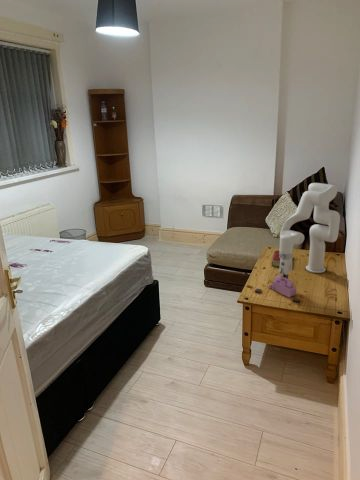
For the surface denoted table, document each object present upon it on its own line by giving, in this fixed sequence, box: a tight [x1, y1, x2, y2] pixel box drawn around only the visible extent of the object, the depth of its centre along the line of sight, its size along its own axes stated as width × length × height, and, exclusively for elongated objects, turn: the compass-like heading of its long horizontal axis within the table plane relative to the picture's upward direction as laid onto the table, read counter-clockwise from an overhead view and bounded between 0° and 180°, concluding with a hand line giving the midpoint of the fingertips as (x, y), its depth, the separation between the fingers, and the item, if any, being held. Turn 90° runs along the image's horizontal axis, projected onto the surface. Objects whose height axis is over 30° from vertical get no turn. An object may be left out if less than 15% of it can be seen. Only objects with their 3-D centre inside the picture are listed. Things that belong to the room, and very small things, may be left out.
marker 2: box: [292, 297, 301, 304], centre depth 204 cm, size 3×3×1 cm
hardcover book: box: [271, 249, 280, 268], centre depth 257 cm, size 12×21×4 cm, turn 162°
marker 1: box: [254, 288, 263, 294], centre depth 216 cm, size 3×3×1 cm
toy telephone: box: [268, 274, 297, 298], centre depth 214 cm, size 18×6×10 cm, turn 32°
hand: (284, 282), depth 218 cm, fingers closed
